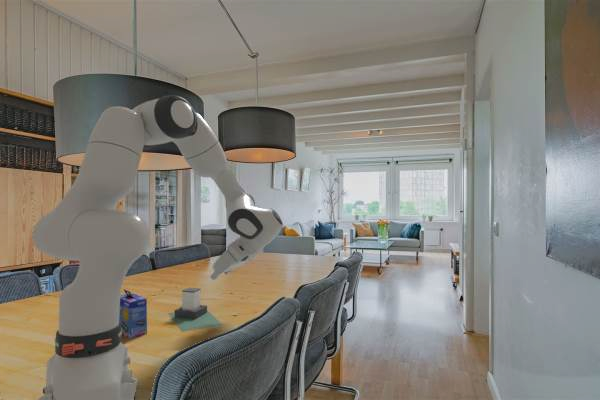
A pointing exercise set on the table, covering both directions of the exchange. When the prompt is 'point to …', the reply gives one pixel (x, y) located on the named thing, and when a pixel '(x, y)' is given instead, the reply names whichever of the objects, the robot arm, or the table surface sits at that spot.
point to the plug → (191, 299)
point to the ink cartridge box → (133, 315)
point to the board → (196, 323)
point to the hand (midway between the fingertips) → (219, 275)
